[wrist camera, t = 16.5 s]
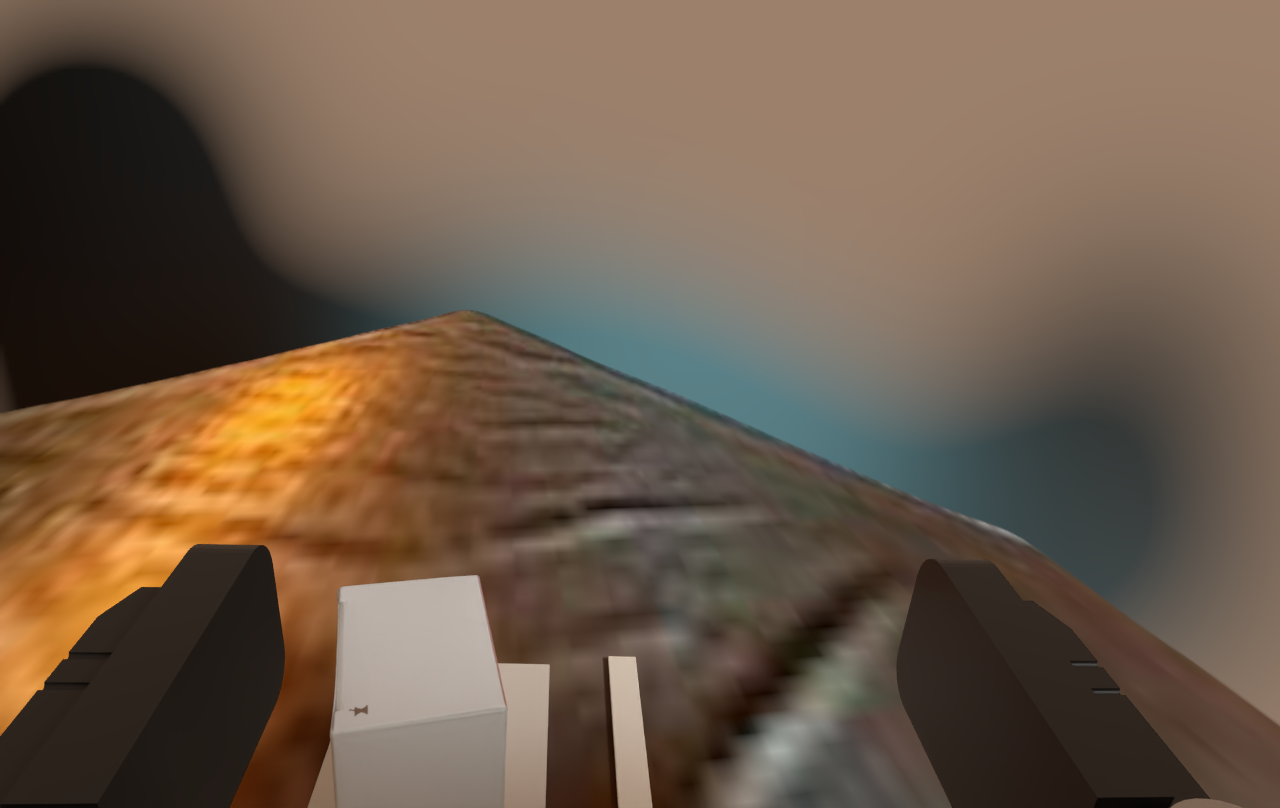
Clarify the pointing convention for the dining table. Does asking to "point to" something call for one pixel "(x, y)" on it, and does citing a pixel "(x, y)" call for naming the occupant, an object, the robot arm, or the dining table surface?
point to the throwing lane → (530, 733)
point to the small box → (417, 698)
